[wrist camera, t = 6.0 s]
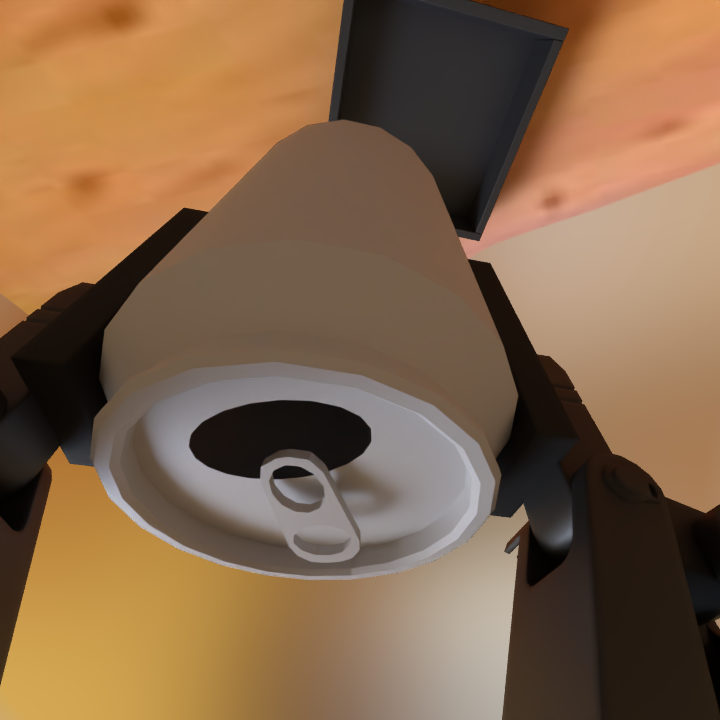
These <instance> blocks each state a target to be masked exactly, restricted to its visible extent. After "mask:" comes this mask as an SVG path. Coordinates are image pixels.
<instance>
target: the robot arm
mask: <svg viewBox="0 0 720 720" xmlns="http://www.w3.org/2000/svg"><path fill="white" fill-rule="evenodd" d="M208 213H209V212H205V211H200V210H194V209H189V208H183V209H182V210H181V211H180V212H178V213H177V214H176V215H175V216H174V217H173V218H171V219H170V220H169V221H168V222H167V223H166V224H164V225H163V226H162V227H161V228H160V229H159V230H157V231H156V232H155V233H154V234H153V235H152V236H151V237H149V238H148V239H147V240H146V241H145V242H144V243H142V244H141V245H140V246H139V247H138V248H137V249H135V250H134V251H133V252H132V253H131V254H130V255H128V256H127V257H126V258H125V259H124V260H123V261H122V262H120V263H119V264H118V265H117V266H116V267H115V268H113V269H112V270H111V271H110V272H109V273H108V274H106V275H105V276H104V277H103V278H102V279H101V280H99V281H98V282H97V283H96V284H90V283H84V282H82V283H80V284H78V285H75V286H73V287H70V288H68V289H66V290H63V291H61V292H58V293H57V294H56V295H55V296H53V297H52V298H51V299H50V300H48V301H47V302H46V303H44V304H43V305H42V306H41V309H37V310H36V311H34V312H33V313H32V314H30V315H29V316H28V317H27V320H26V321H22V322H20V323H19V324H18V325H17V326H15V327H14V328H13V329H11V330H10V331H9V332H8V333H7V334H5V335H4V336H3V337H1V338H0V684H1V680H2V676H3V672H4V668H5V664H6V660H7V656H8V652H9V648H10V645H11V641H12V637H13V633H14V628H15V624H16V621H17V617H18V613H19V609H20V604H21V601H22V596H23V593H24V589H25V585H26V580H27V577H28V572H29V569H30V565H31V561H32V557H33V553H34V548H35V545H36V541H37V537H38V533H39V529H40V525H41V521H42V517H43V513H44V509H45V505H46V501H47V497H48V493H49V489H50V485H51V481H52V479H51V478H52V474H51V469H50V467H49V466H48V464H47V461H48V460H49V459H50V458H51V456H52V455H53V454H54V452H55V451H56V450H57V449H58V447H59V446H60V447H61V449H62V451H63V452H64V454H65V456H66V457H67V459H68V461H69V463H70V464H78V465H86V466H94V465H93V463H92V461H91V459H90V450H91V441H92V432H93V423H94V418H95V417H96V415H97V414H98V413H99V412H100V410H101V409H102V408H103V407H104V406H105V405H106V404H107V403H108V401H107V399H106V396H105V393H104V390H103V388H102V385H101V382H100V380H99V374H100V365H101V357H102V348H103V339H104V330H105V328H106V327H107V326H108V324H109V323H110V322H111V320H112V319H113V318H114V316H115V315H116V314H117V312H118V311H119V310H120V308H121V307H122V306H123V304H124V303H125V301H126V300H127V299H128V297H129V296H130V295H131V293H132V292H133V291H134V289H135V288H136V287H137V285H138V284H139V283H140V282H141V281H142V280H143V279H144V278H145V277H146V276H147V275H148V274H149V273H150V272H151V271H152V270H153V269H154V268H155V266H156V265H157V264H158V263H159V262H160V261H161V260H162V259H163V258H164V257H165V256H166V255H167V254H168V253H169V252H170V251H171V250H172V249H173V248H174V247H175V246H176V245H177V244H178V243H179V242H180V241H181V240H182V239H183V238H184V237H185V236H186V235H187V234H188V233H189V232H190V231H191V230H192V229H193V228H194V227H195V226H196V225H197V224H198V223H199V222H200V221H201V220H202V219H203V218H204V217H205V216H206V215H207V214H208ZM468 262H469V264H470V267H471V269H472V271H473V274H474V276H475V279H476V281H477V283H478V286H479V288H480V291H481V293H482V295H483V298H484V300H485V303H486V305H487V307H488V310H489V312H490V315H491V317H492V319H493V322H494V324H495V327H496V329H497V332H498V334H499V336H500V339H501V341H502V344H503V346H504V350H505V353H506V356H507V360H508V363H509V366H510V370H511V373H512V376H513V380H514V383H515V386H516V390H517V393H518V399H517V404H516V410H515V415H514V420H513V425H512V431H511V435H510V438H509V441H508V442H507V444H506V445H505V446H504V448H503V449H502V451H501V452H500V453H499V455H498V456H497V458H496V462H497V464H498V466H499V469H500V472H501V479H500V485H499V490H498V495H497V501H496V506H495V510H494V511H493V512H492V514H491V515H494V516H501V517H512V516H513V514H514V513H515V512H516V511H517V510H518V509H519V508H520V507H521V505H522V504H523V503H524V506H525V510H526V513H527V516H528V519H529V521H528V522H527V523H526V524H525V525H524V526H523V527H522V528H521V529H520V530H519V531H518V533H516V534H515V536H514V537H513V538H512V539H511V540H510V541H509V542H508V543H507V545H506V548H505V552H506V553H508V554H510V553H511V552H512V551H513V550H514V549H515V548H516V547H517V546H518V545H519V550H518V556H517V558H518V559H517V570H516V581H515V591H514V601H513V613H512V623H511V633H510V643H509V654H508V664H507V675H506V685H505V695H504V707H503V716H502V720H720V629H719V627H718V626H717V624H716V622H715V620H717V619H719V618H720V505H718V506H716V507H715V508H714V509H712V510H710V511H709V512H707V513H703V512H701V511H699V510H696V509H693V508H691V507H689V506H686V505H684V504H681V503H679V502H676V501H674V500H671V499H669V498H666V497H665V496H664V494H663V492H662V490H661V488H660V487H659V486H658V485H657V483H656V482H655V481H654V480H653V478H652V477H651V476H650V475H649V474H648V473H646V472H645V471H644V470H643V469H641V468H640V467H639V466H638V465H637V464H635V463H633V462H631V461H629V460H627V459H626V458H624V457H622V456H618V455H615V454H612V452H611V451H610V449H609V447H608V445H607V443H606V442H605V440H604V438H603V436H602V435H601V433H600V431H599V429H598V428H597V426H596V424H595V422H594V421H593V419H592V418H591V415H590V414H589V412H588V410H587V408H586V406H585V405H584V404H582V400H581V398H580V396H579V394H578V393H577V391H575V390H574V388H575V387H574V385H573V384H572V382H571V380H570V379H569V377H568V375H567V374H566V372H565V371H564V370H563V369H562V368H561V367H560V366H559V365H558V364H557V363H556V362H555V361H554V360H553V359H552V358H551V357H550V356H544V355H537V354H536V352H535V350H534V348H533V346H532V344H531V342H530V340H529V338H528V336H527V334H526V332H525V330H524V328H523V326H522V325H521V322H520V320H519V318H518V317H517V315H516V313H515V311H514V309H513V307H512V305H511V303H510V301H509V299H508V297H507V295H506V293H505V291H504V289H503V287H502V285H501V283H500V281H499V279H498V277H497V275H496V273H495V271H494V269H493V268H492V266H491V264H490V263H487V262H481V261H476V260H470V259H468Z"/></svg>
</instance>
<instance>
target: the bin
mask: <svg viewBox="0 0 720 720" xmlns="http://www.w3.org/2000/svg"><path fill="white" fill-rule="evenodd" d="M568 30H569V29H568V28H565V27H562V26H558V25H555V24H551V23H548V22H544V21H541V20H537V19H534V18H530V17H527V16H523V15H520V14H516V13H513V12H509V11H506V10H502V9H499V8H495V7H492V6H488V5H485V4H481V3H478V2H474V1H471V0H344V3H343V11H342V19H341V27H340V35H339V43H338V51H337V58H336V66H335V74H334V82H333V90H332V98H331V106H330V114H329V122H331V121H338V120H348V121H353V122H357V123H362V124H366V125H371V126H375V127H380V128H382V129H383V130H385V131H386V132H388V133H389V134H391V135H393V136H394V137H396V138H397V139H399V140H400V141H402V142H403V143H405V144H407V145H408V146H410V147H411V148H412V149H413V151H414V152H415V153H416V154H417V156H418V157H419V158H420V160H421V161H422V162H423V164H424V165H425V166H426V168H427V169H428V170H429V171H430V173H431V174H432V175H433V177H434V180H435V182H436V185H437V187H438V189H439V192H440V194H441V197H442V199H443V202H444V204H445V206H446V209H447V211H448V214H449V216H450V218H451V221H452V223H453V226H454V228H455V230H456V233H457V235H458V237H462V238H467V239H471V240H476V241H480V238H481V236H482V233H483V231H484V229H485V226H486V224H487V222H488V219H489V217H490V215H491V212H492V210H493V208H494V205H495V203H496V200H497V198H498V196H499V193H500V191H501V189H502V186H503V184H504V181H505V179H506V177H507V174H508V172H509V170H510V167H511V165H512V163H513V160H514V158H515V155H516V153H517V151H518V148H519V146H520V144H521V141H522V139H523V137H524V134H525V132H526V129H527V127H528V125H529V122H530V120H531V118H532V115H533V113H534V110H535V108H536V106H537V103H538V101H539V99H540V96H541V94H542V92H543V89H544V87H545V84H546V82H547V80H548V77H549V75H550V73H551V70H552V68H553V66H554V63H555V61H556V58H557V56H558V54H559V51H560V49H561V47H562V44H563V41H564V40H565V37H566V35H567V33H568Z"/></svg>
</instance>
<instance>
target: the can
mask: <svg viewBox="0 0 720 720" xmlns="http://www.w3.org/2000/svg"><path fill="white" fill-rule="evenodd" d="M99 380H100V382H101V385H102V388H103V390H104V393H105V396H106V399H107V401H108V403H107V404H106V405H105V406H104V407H103V408H102V409H101V410H100V412H99V413H98V414H97V415H96V417H95V418H94V423H93V432H92V441H91V450H90V459H91V461H92V463H93V465H94V467H95V469H96V471H97V473H98V476H99V478H100V480H101V482H102V484H103V486H104V488H105V490H106V492H107V494H108V496H109V497H110V499H111V500H112V501H113V502H114V503H115V504H116V505H117V506H119V507H120V508H121V509H122V510H123V511H124V512H125V513H126V514H127V515H128V516H129V517H130V518H131V519H132V520H134V522H135V523H136V524H138V525H139V526H140V527H141V528H143V529H145V530H147V531H148V532H150V533H152V534H153V535H155V536H157V537H159V538H160V539H162V540H164V541H165V542H167V543H169V544H171V545H172V546H174V547H176V548H177V549H180V550H183V551H185V552H188V553H191V554H193V555H196V556H198V557H201V558H204V559H206V560H209V561H212V562H214V563H217V564H220V565H223V566H228V567H232V568H237V569H241V570H245V571H249V572H254V573H258V574H262V575H268V576H279V577H287V578H296V579H306V580H338V579H339V580H343V579H360V578H367V577H374V576H380V575H387V574H393V573H399V572H402V571H405V570H408V569H411V568H414V567H417V566H420V565H424V564H427V563H429V562H433V561H436V560H438V559H439V558H441V557H442V556H444V555H446V554H448V553H449V552H451V551H453V550H454V549H456V548H458V547H459V546H461V545H463V544H464V543H466V542H468V541H469V540H470V538H472V536H473V535H474V534H475V533H476V532H477V530H478V529H479V528H480V527H481V526H482V524H483V523H484V522H485V521H486V519H487V518H488V517H489V516H490V515H491V514H492V512H493V511H494V510H495V506H496V501H497V495H498V490H499V485H500V479H501V472H500V469H499V466H498V464H497V462H496V458H497V456H498V455H499V453H500V452H501V451H502V449H503V448H504V446H505V445H506V444H507V442H508V441H509V438H510V435H511V431H512V425H513V420H514V415H515V410H516V404H517V399H518V393H517V390H516V386H515V383H514V380H513V376H512V373H511V370H510V366H509V363H508V360H507V356H506V353H505V350H504V346H503V344H502V341H501V339H500V336H499V334H498V332H497V329H496V327H495V324H494V322H493V319H492V317H491V315H490V312H489V310H488V307H487V305H486V303H485V300H484V298H483V295H482V293H481V291H480V288H479V286H478V283H477V281H476V279H475V276H474V274H473V271H472V269H471V267H470V264H469V262H468V259H467V257H466V254H465V252H464V250H463V247H462V245H461V242H460V240H459V238H458V235H457V233H456V230H455V228H454V226H453V223H452V221H451V218H450V216H449V214H448V211H447V209H446V206H445V204H444V202H443V199H442V197H441V194H440V192H439V189H438V187H437V185H436V182H435V180H434V177H433V175H432V174H431V173H430V171H429V170H428V169H427V168H426V166H425V165H424V164H423V162H422V161H421V160H420V158H419V157H418V156H417V154H416V153H415V152H414V151H413V149H412V148H411V147H410V146H408V145H407V144H405V143H403V142H402V141H400V140H399V139H397V138H396V137H394V136H393V135H391V134H389V133H388V132H386V131H385V130H383V129H382V128H380V127H375V126H371V125H366V124H362V123H357V122H353V121H348V120H338V121H331V122H325V123H318V124H312V125H307V126H305V127H303V128H302V129H300V130H298V131H297V132H295V133H293V134H291V135H290V136H288V137H286V138H285V139H283V140H281V141H279V142H278V143H276V144H275V145H274V146H273V147H272V148H271V149H270V150H269V152H268V153H267V154H266V155H265V156H264V157H263V158H262V159H261V160H260V161H259V162H258V163H257V164H256V165H255V166H254V167H253V168H252V169H251V170H250V171H249V172H248V173H247V174H246V175H245V176H244V177H243V178H242V179H241V180H240V181H239V182H238V183H237V184H236V185H235V186H234V187H233V188H232V189H231V190H230V191H229V192H228V193H227V194H226V195H225V196H224V197H223V198H222V199H221V200H220V201H219V202H218V203H217V204H216V205H215V206H214V207H213V208H212V210H211V211H210V212H209V213H208V214H207V215H206V216H205V217H204V218H203V219H202V220H201V221H200V222H199V223H198V224H197V225H196V226H195V227H194V228H193V229H192V230H191V231H190V232H189V233H188V234H187V235H186V236H185V237H184V238H183V239H182V240H181V241H180V242H179V243H178V244H177V245H176V246H175V247H174V248H173V249H172V250H171V251H170V252H169V253H168V254H167V255H166V256H165V257H164V258H163V259H162V260H161V261H160V262H159V263H158V264H157V265H156V266H155V268H154V269H153V270H152V271H151V272H150V273H149V274H148V275H147V276H146V277H145V278H144V279H143V280H142V281H141V282H140V283H139V284H138V285H137V287H136V288H135V289H134V291H133V292H132V293H131V295H130V296H129V297H128V299H127V300H126V301H125V303H124V304H123V306H122V307H121V308H120V310H119V311H118V312H117V314H116V315H115V316H114V318H113V319H112V320H111V322H110V323H109V324H108V326H107V327H106V328H105V330H104V339H103V348H102V357H101V365H100V374H99Z"/></svg>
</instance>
